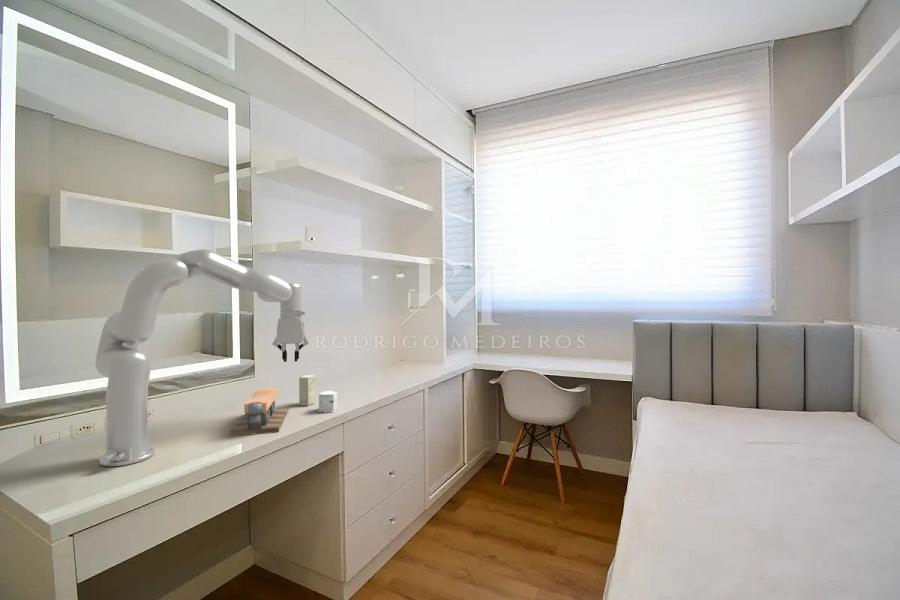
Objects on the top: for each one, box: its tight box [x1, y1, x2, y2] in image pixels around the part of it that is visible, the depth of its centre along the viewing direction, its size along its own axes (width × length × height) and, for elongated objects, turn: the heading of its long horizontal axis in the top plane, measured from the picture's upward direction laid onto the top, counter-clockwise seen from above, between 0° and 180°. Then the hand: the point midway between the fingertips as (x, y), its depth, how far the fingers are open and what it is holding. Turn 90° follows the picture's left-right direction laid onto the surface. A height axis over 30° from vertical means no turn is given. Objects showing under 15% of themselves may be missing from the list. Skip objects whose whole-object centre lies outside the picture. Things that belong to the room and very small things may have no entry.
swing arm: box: [243, 386, 279, 414], centre depth 152 cm, size 27×7×3 cm, turn 14°
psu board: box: [230, 400, 289, 436], centre depth 152 cm, size 27×15×7 cm, turn 14°
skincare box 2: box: [318, 390, 338, 413], centre depth 169 cm, size 6×6×7 cm
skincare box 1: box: [298, 374, 316, 407], centre depth 179 cm, size 6×4×12 cm
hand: (290, 360), depth 163 cm, fingers open, 3 cm apart
